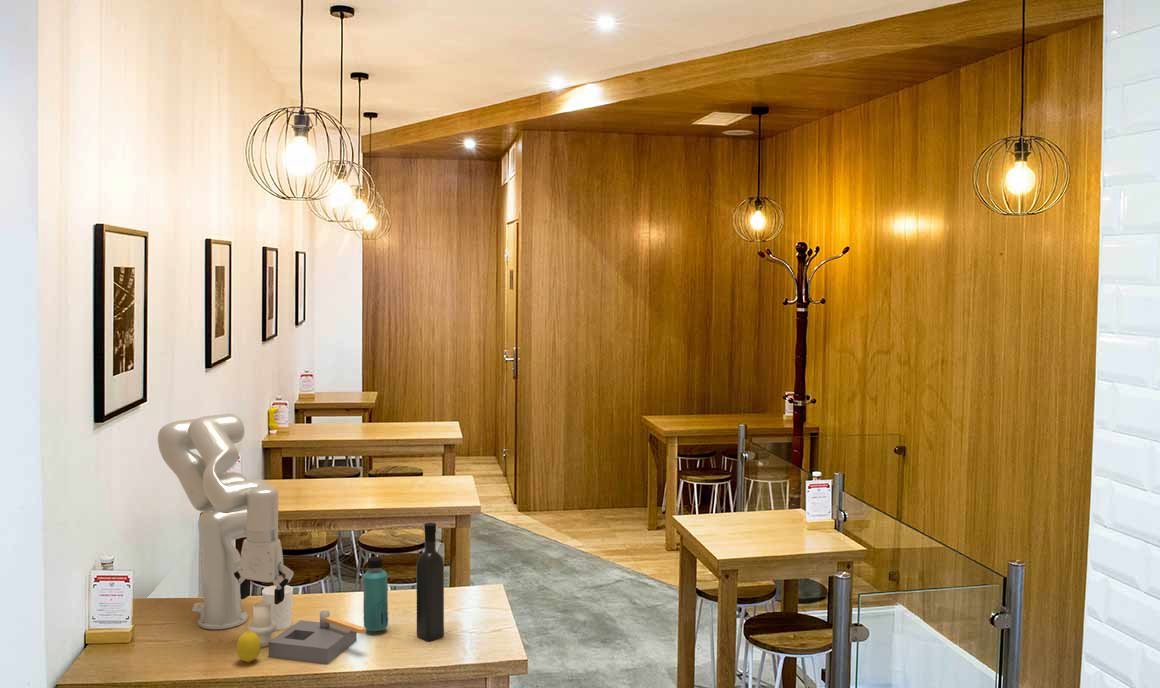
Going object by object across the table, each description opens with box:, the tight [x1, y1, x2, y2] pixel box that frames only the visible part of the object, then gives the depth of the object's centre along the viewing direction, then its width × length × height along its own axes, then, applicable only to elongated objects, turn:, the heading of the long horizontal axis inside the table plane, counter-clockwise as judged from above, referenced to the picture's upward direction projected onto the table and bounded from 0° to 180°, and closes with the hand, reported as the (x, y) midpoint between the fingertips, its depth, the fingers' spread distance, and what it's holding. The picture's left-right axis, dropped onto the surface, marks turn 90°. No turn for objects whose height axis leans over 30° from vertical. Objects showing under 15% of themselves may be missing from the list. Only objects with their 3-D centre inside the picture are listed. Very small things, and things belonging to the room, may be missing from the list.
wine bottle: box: [416, 522, 445, 642], centre depth 245 cm, size 6×6×30 cm
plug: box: [247, 601, 277, 648], centre depth 239 cm, size 7×7×10 cm
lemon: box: [236, 630, 262, 664], centre depth 228 cm, size 6×6×8 cm
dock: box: [268, 619, 358, 665], centre depth 237 cm, size 16×15×4 cm
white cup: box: [261, 584, 294, 631], centre depth 252 cm, size 8×8×10 cm
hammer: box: [319, 610, 367, 635], centre depth 237 cm, size 16×2×4 cm, turn 55°
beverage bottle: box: [362, 556, 389, 632], centre depth 248 cm, size 6×7×20 cm
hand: (262, 600), depth 240 cm, fingers open, 9 cm apart
